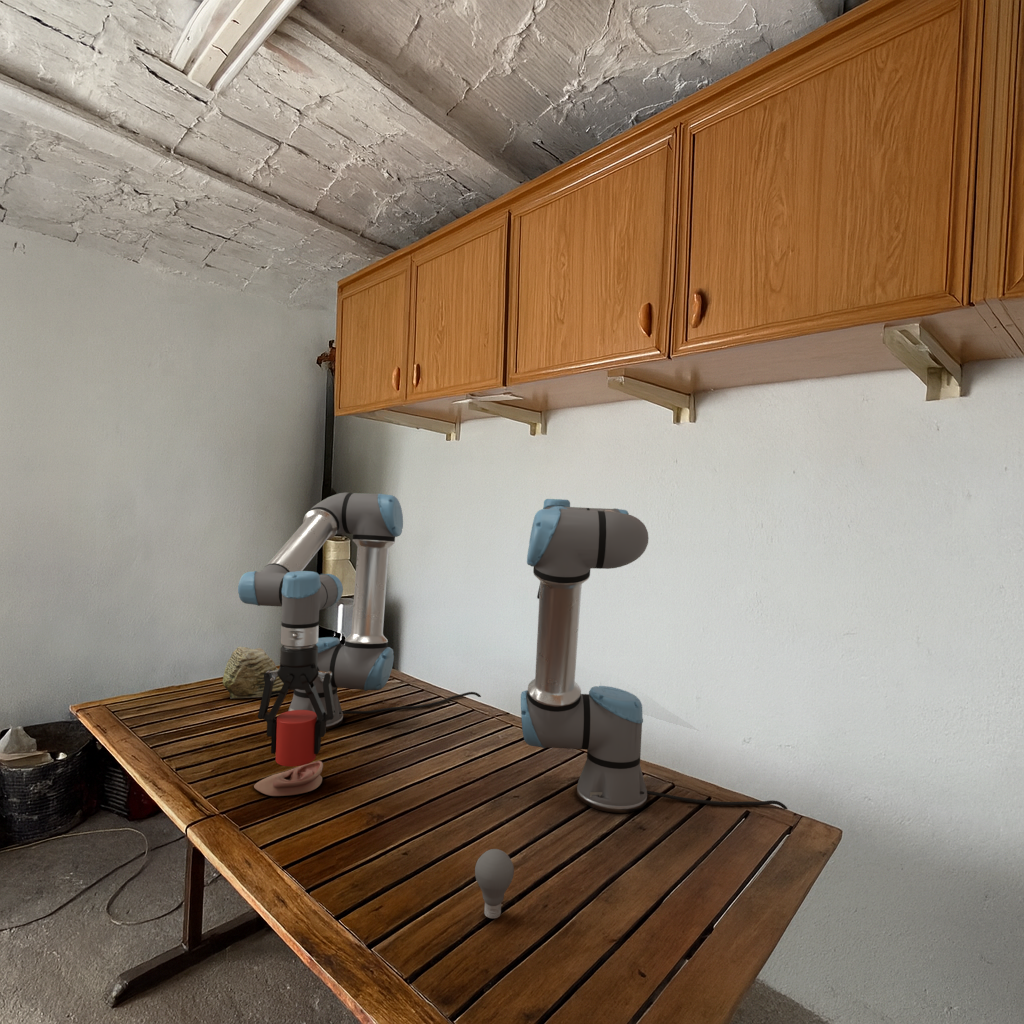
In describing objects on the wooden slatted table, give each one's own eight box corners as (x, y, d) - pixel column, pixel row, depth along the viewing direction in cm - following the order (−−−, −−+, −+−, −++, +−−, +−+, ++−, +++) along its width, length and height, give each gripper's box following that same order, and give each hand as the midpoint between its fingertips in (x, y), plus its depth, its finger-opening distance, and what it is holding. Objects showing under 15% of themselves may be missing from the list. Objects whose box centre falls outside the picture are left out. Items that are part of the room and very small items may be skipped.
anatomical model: (246, 773, 134) (276, 753, 145) (245, 792, 134) (276, 770, 145) (303, 782, 131) (330, 760, 142) (302, 801, 131) (329, 777, 142)
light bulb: (472, 903, 100) (475, 841, 100) (510, 903, 101) (513, 841, 101) (473, 929, 94) (476, 863, 94) (513, 928, 95) (516, 862, 95)
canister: (271, 755, 136) (272, 713, 135) (309, 747, 140) (311, 707, 140) (280, 769, 129) (282, 725, 129) (320, 761, 133) (322, 719, 133)
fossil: (218, 695, 195) (220, 647, 195) (278, 685, 208) (279, 640, 207) (228, 703, 189) (230, 653, 188) (289, 692, 201) (290, 645, 201)
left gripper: (242, 648, 129) (239, 758, 130) (347, 650, 131) (343, 758, 132) (253, 639, 137) (250, 743, 137) (352, 641, 139) (349, 744, 139)
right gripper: (528, 550, 187) (525, 621, 188) (556, 558, 163) (553, 640, 164) (552, 550, 189) (549, 621, 190) (583, 559, 165) (580, 639, 166)
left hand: (296, 751), depth 135 cm, fingers closed on canister, 8 cm apart
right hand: (551, 630), depth 177 cm, fingers open, 13 cm apart
